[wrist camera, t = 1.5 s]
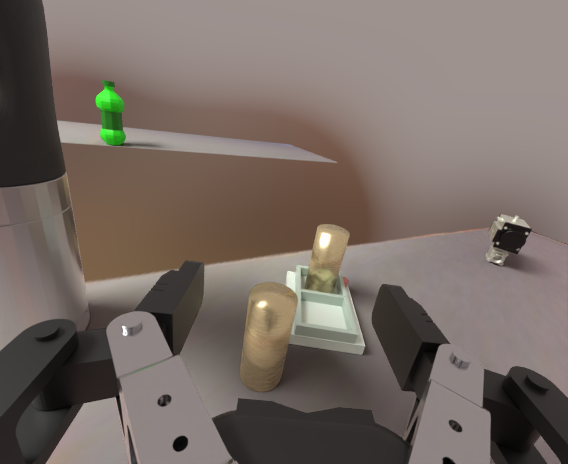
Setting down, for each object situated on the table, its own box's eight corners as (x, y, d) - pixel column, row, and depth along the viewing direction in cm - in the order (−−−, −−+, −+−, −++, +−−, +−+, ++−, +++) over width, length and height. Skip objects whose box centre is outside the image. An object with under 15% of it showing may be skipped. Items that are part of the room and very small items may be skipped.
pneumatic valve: (501, 256, 71) (524, 213, 67) (508, 274, 62) (536, 226, 57) (476, 248, 74) (497, 207, 69) (480, 265, 64) (504, 218, 59)
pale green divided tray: (281, 342, 33) (285, 323, 32) (286, 278, 46) (289, 263, 45) (362, 355, 34) (368, 336, 32) (344, 288, 46) (348, 273, 45)
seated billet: (304, 295, 40) (318, 234, 36) (304, 278, 44) (316, 222, 40) (334, 300, 40) (352, 240, 36) (331, 283, 44) (346, 227, 40)
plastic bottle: (96, 141, 121) (89, 77, 111) (122, 142, 129) (117, 82, 119) (104, 146, 116) (97, 79, 106) (131, 146, 123) (127, 84, 113)
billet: (235, 388, 27) (245, 308, 23) (243, 352, 31) (253, 279, 27) (280, 395, 27) (298, 317, 23) (282, 358, 31) (298, 286, 27)
